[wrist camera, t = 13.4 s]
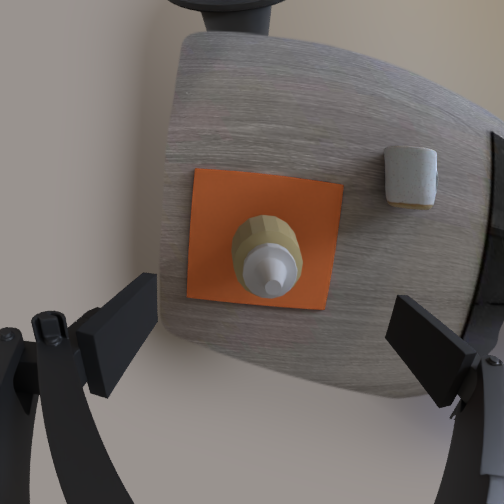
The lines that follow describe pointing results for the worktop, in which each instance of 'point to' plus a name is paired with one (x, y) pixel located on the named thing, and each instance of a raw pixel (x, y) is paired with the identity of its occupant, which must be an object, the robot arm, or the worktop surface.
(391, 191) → the ceramic mug
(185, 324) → the worktop surface
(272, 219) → the squeeze bottle
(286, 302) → the napkin
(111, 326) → the robot arm
